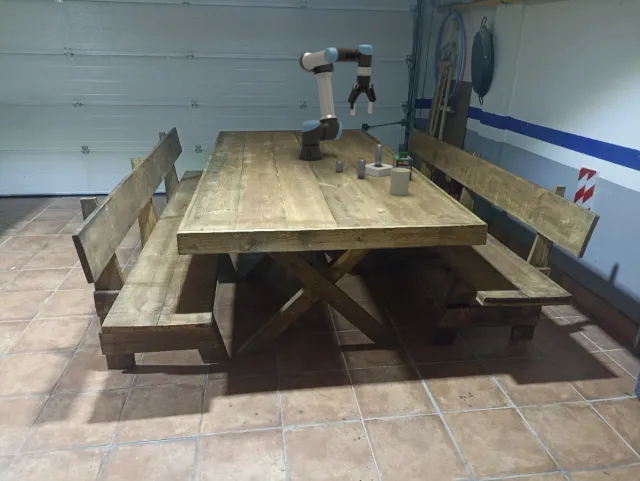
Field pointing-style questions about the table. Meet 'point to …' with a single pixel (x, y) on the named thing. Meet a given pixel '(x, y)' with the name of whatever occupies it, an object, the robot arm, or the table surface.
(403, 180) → the can
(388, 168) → the socket block
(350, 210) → the table surface
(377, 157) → the long pin
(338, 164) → the short pin
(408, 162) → the chalk box
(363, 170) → the medium pin
